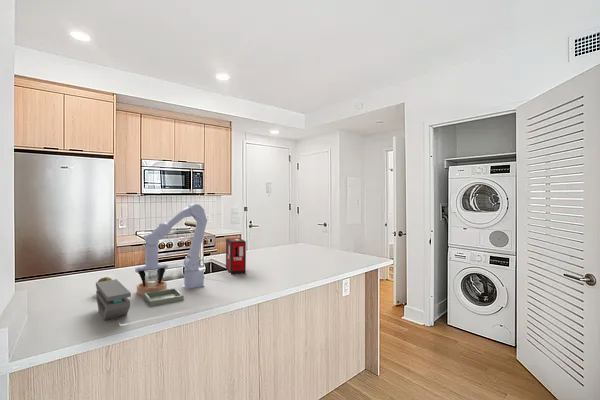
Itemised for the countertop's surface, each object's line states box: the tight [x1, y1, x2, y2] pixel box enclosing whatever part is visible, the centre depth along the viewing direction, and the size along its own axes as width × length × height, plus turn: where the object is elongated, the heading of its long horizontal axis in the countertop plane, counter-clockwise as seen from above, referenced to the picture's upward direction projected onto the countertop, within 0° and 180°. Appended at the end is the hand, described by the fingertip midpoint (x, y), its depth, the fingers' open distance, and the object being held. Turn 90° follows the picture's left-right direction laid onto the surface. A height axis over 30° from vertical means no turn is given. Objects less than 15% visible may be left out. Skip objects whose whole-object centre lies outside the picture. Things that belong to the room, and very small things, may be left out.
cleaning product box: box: [225, 237, 247, 275], centre depth 198 cm, size 16×9×20 cm, turn 25°
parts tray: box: [143, 287, 185, 307], centre depth 143 cm, size 14×14×3 cm
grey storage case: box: [95, 279, 132, 321], centre depth 126 cm, size 25×8×11 cm, turn 42°
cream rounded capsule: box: [146, 280, 158, 288], centre depth 154 cm, size 4×4×4 cm
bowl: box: [136, 280, 168, 297], centre depth 154 cm, size 13×13×4 cm
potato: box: [95, 276, 113, 291], centre depth 149 cm, size 8×13×8 cm, turn 26°
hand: (151, 284), depth 154 cm, fingers open, 6 cm apart
